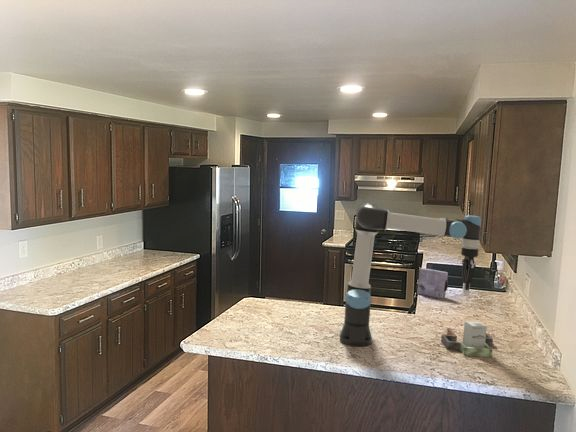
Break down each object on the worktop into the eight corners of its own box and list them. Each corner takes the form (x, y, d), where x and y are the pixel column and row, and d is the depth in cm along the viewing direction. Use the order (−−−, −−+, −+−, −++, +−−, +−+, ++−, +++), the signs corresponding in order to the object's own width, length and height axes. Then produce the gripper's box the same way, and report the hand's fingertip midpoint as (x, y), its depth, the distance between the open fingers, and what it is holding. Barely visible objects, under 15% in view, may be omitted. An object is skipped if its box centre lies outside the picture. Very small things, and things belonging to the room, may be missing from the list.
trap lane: (450, 354, 217) (451, 346, 216) (435, 334, 244) (435, 327, 243) (504, 357, 215) (505, 350, 215) (483, 337, 243) (484, 330, 242)
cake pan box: (447, 297, 320) (449, 271, 319) (445, 299, 316) (447, 272, 315) (418, 292, 331) (420, 267, 329) (416, 294, 326) (418, 268, 325)
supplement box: (469, 352, 220) (472, 325, 219) (461, 346, 227) (464, 320, 226) (484, 352, 221) (487, 326, 220) (476, 346, 228) (478, 321, 227)
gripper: (482, 250, 223) (477, 300, 226) (473, 246, 236) (469, 293, 239) (466, 249, 224) (461, 298, 226) (458, 245, 237) (453, 292, 239)
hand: (465, 295), depth 232 cm, fingers closed
